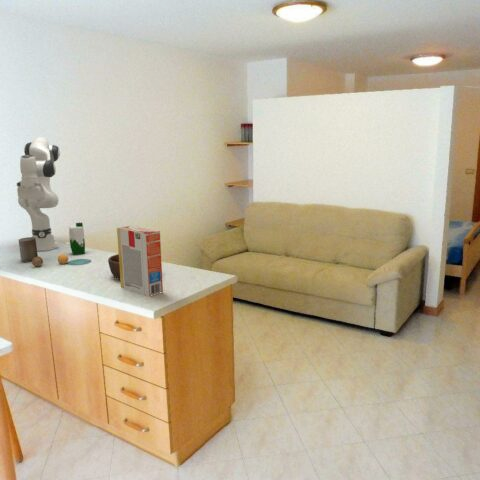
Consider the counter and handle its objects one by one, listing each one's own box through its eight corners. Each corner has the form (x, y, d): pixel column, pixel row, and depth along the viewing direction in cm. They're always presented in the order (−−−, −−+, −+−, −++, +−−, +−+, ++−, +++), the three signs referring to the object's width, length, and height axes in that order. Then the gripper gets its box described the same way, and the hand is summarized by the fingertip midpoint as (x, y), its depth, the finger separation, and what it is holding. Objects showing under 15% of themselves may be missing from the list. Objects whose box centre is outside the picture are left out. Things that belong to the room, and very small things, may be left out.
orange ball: (57, 263, 275) (56, 253, 273) (68, 262, 277) (67, 252, 276) (58, 265, 269) (57, 255, 268) (69, 264, 272) (68, 254, 270)
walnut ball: (32, 265, 269) (31, 256, 268) (43, 264, 272) (42, 254, 270) (32, 268, 264) (31, 258, 263) (43, 267, 266) (42, 257, 265)
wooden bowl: (145, 283, 234) (144, 264, 231) (100, 281, 239) (99, 262, 236) (163, 270, 258) (162, 252, 255) (122, 268, 262) (121, 250, 260)
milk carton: (86, 254, 296) (83, 223, 292) (71, 255, 293) (68, 225, 289) (84, 251, 304) (82, 221, 300) (70, 252, 301) (67, 222, 296)
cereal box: (162, 292, 219) (159, 231, 213) (149, 296, 213) (145, 233, 207) (134, 283, 234) (130, 225, 228) (120, 287, 228) (116, 228, 222)
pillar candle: (41, 258, 286) (38, 235, 283) (32, 262, 277) (29, 238, 274) (26, 258, 287) (23, 235, 284) (17, 262, 278) (14, 238, 275)
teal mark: (66, 260, 280) (66, 260, 280) (90, 258, 285) (90, 258, 285) (67, 266, 268) (67, 265, 267) (92, 263, 273) (92, 263, 273)
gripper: (46, 183, 263) (49, 207, 265) (24, 182, 273) (26, 206, 275) (37, 183, 257) (39, 208, 260) (14, 183, 267) (16, 207, 270)
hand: (32, 207), depth 267 cm, fingers open, 8 cm apart
